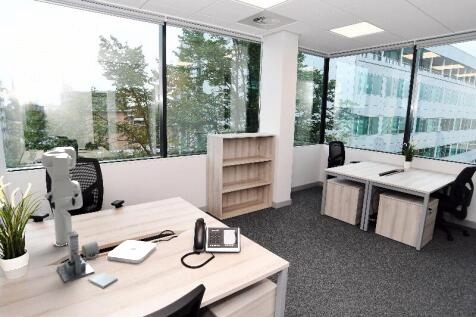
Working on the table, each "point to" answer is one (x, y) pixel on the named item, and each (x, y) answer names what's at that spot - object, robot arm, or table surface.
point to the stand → (74, 269)
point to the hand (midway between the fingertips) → (63, 206)
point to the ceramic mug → (90, 250)
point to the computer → (132, 251)
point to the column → (73, 245)
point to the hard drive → (102, 279)
